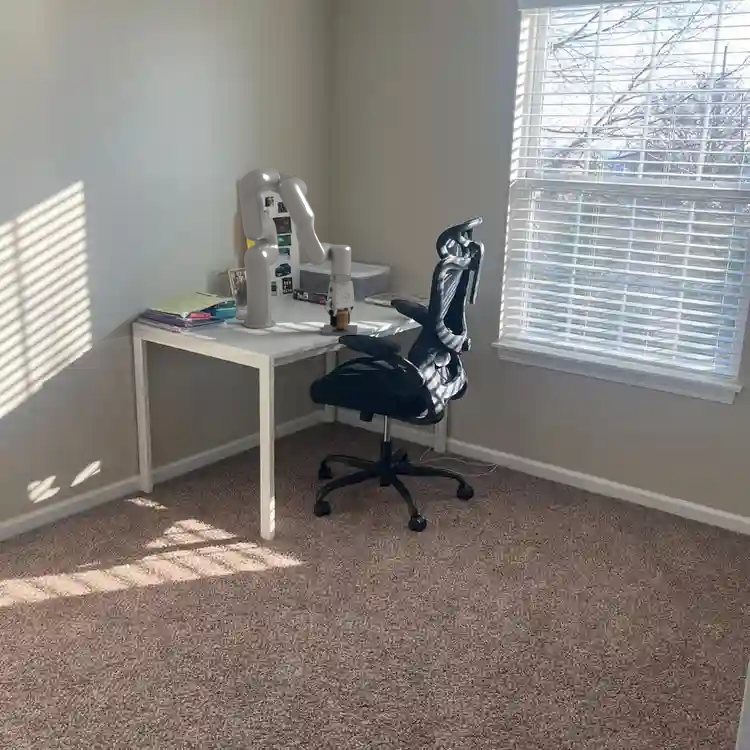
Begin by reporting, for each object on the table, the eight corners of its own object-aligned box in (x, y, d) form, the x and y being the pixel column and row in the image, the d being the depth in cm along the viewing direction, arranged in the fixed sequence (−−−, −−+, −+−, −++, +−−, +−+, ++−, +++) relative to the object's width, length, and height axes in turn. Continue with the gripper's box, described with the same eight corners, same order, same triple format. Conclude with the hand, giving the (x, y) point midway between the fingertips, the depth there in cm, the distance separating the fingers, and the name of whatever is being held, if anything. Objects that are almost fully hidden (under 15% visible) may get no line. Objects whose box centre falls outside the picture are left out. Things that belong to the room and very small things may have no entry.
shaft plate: (322, 335, 310) (322, 320, 309) (324, 327, 323) (324, 312, 321) (356, 336, 310) (356, 321, 309) (357, 328, 323) (357, 313, 321)
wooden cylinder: (339, 329, 312) (339, 312, 310) (329, 326, 316) (329, 309, 314) (351, 326, 316) (351, 310, 314) (340, 324, 320) (340, 307, 318)
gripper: (330, 281, 302) (329, 329, 307) (364, 277, 314) (362, 323, 319) (316, 279, 307) (316, 326, 313) (350, 274, 319) (349, 319, 324)
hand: (340, 324), depth 316 cm, fingers closed on wooden cylinder, 6 cm apart
